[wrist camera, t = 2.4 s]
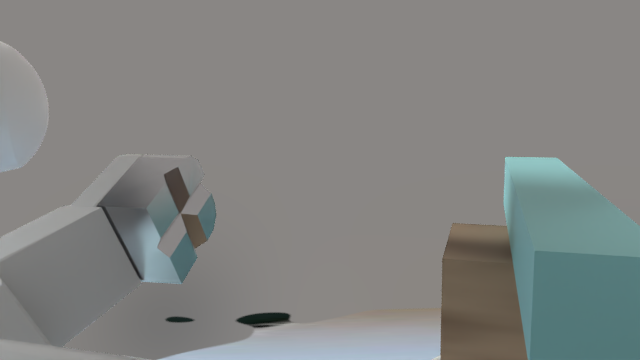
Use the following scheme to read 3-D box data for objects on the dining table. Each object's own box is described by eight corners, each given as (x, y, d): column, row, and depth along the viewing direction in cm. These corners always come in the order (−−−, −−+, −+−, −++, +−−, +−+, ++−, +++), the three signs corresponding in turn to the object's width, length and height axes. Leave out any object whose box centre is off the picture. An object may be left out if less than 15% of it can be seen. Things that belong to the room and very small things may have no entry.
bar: (669, 386, 14) (680, 259, 14) (529, 369, 15) (534, 250, 15) (554, 205, 39) (556, 157, 38) (503, 203, 40) (505, 157, 39)
